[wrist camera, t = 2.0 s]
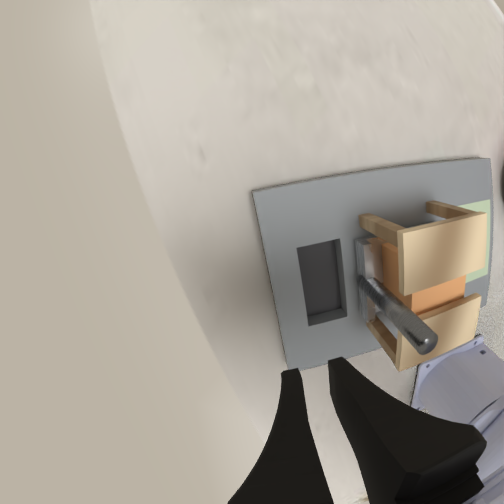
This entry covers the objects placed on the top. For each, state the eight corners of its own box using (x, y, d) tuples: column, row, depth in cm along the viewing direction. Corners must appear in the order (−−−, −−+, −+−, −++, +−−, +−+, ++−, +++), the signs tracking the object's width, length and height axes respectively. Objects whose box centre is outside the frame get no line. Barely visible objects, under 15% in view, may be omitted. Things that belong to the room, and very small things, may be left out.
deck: (479, 157, 19) (490, 158, 17) (477, 299, 23) (486, 305, 21) (251, 190, 19) (252, 192, 18) (286, 361, 23) (289, 373, 22)
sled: (438, 220, 18) (522, 253, 10) (437, 288, 20) (506, 340, 12) (350, 240, 18) (422, 294, 10) (356, 314, 20) (411, 390, 12)
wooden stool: (433, 198, 18) (486, 213, 13) (433, 304, 21) (474, 338, 15) (358, 213, 18) (402, 233, 13) (366, 326, 21) (398, 371, 15)
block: (433, 231, 18) (467, 246, 14) (432, 287, 19) (462, 310, 16) (381, 244, 18) (412, 263, 14) (383, 303, 19) (410, 330, 16)
